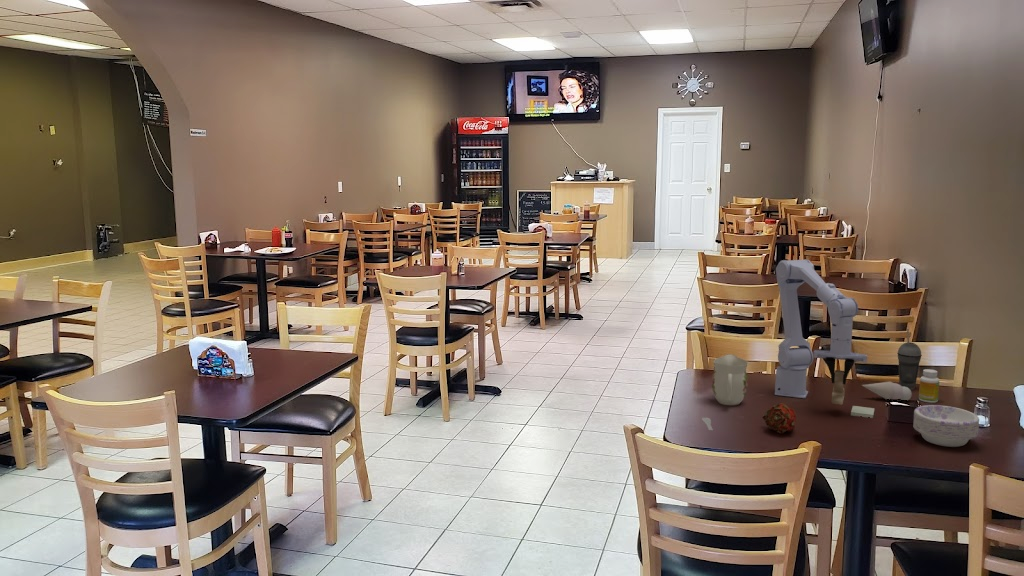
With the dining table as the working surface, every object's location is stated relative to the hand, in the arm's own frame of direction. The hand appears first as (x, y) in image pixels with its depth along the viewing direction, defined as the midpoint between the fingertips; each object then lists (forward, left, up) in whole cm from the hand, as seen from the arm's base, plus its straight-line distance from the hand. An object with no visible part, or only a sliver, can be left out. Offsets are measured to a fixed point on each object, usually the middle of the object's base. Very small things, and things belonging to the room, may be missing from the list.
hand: (838, 383), depth 229 cm
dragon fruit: (-13, -23, -10) cm, 29 cm away
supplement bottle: (+25, +27, -10) cm, 38 cm away
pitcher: (-31, -3, -10) cm, 33 cm away
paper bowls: (+28, -13, -10) cm, 32 cm away
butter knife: (-30, -32, -10) cm, 45 cm away
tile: (+4, +4, -9) cm, 11 cm away
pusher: (0, 0, -5) cm, 5 cm away
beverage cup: (+19, +40, -10) cm, 45 cm away
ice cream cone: (+13, +22, -10) cm, 27 cm away
